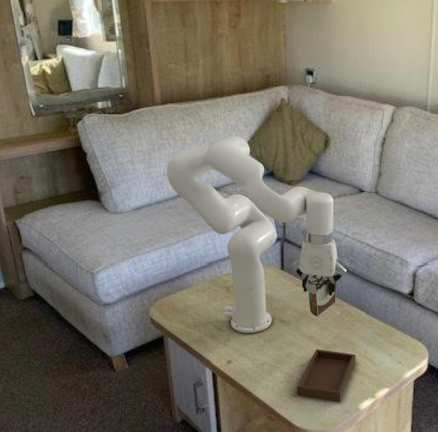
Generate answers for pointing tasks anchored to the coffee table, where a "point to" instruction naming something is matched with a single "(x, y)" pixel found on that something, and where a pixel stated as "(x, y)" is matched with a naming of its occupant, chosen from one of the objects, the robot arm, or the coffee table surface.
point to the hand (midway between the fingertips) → (318, 291)
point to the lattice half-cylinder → (320, 294)
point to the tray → (326, 375)
